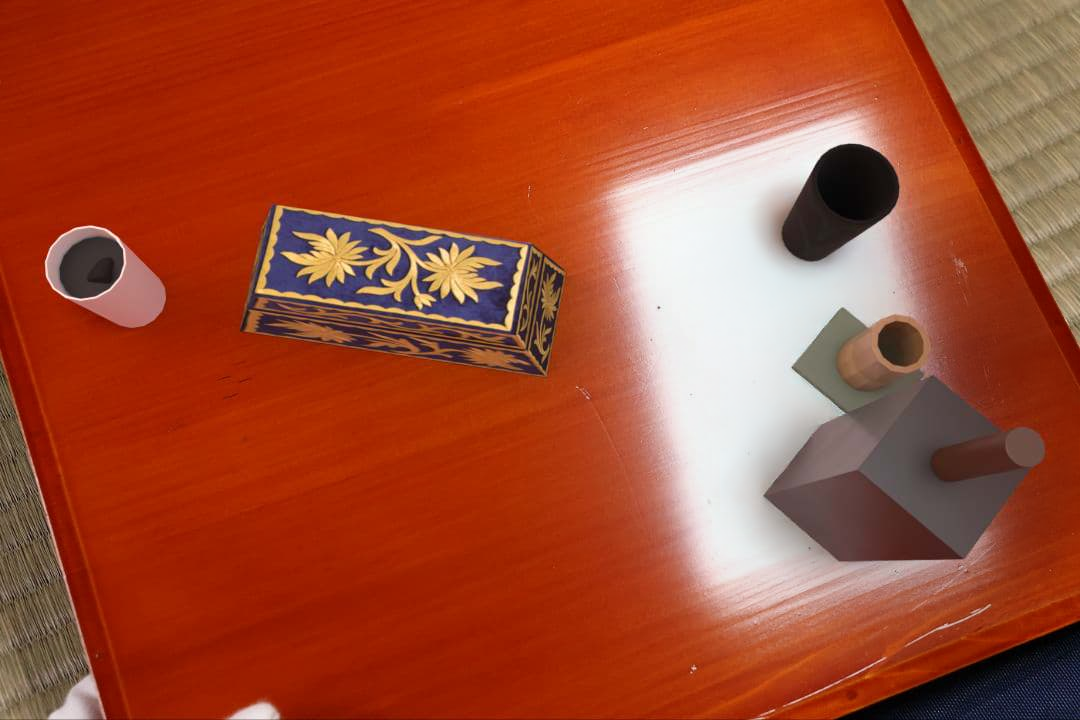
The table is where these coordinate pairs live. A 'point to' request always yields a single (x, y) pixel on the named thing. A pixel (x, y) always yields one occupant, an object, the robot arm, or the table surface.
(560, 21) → the table surface
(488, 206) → the table surface
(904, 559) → the peg stand
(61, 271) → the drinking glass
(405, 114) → the table surface
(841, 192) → the cup
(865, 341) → the orange hollow cylinder
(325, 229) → the decorative box
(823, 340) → the felt coaster
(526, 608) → the table surface
